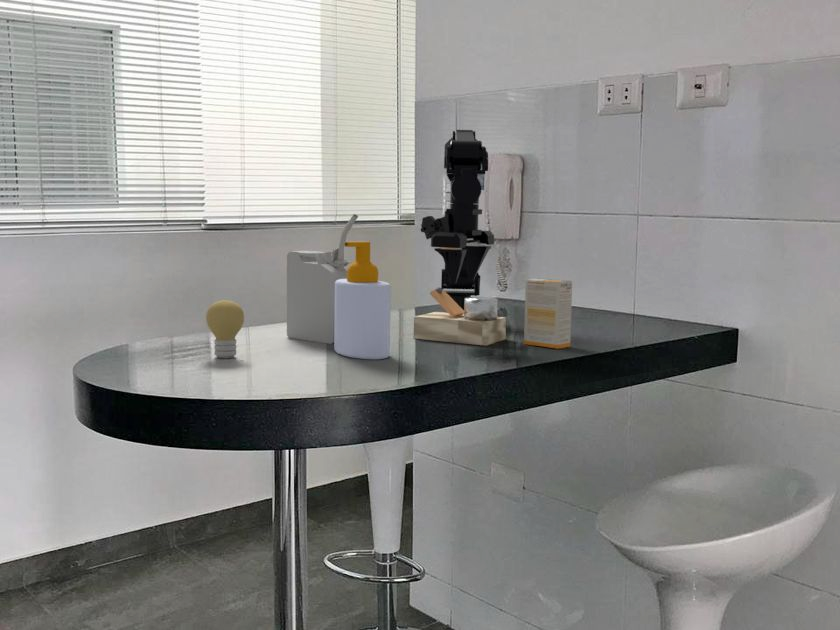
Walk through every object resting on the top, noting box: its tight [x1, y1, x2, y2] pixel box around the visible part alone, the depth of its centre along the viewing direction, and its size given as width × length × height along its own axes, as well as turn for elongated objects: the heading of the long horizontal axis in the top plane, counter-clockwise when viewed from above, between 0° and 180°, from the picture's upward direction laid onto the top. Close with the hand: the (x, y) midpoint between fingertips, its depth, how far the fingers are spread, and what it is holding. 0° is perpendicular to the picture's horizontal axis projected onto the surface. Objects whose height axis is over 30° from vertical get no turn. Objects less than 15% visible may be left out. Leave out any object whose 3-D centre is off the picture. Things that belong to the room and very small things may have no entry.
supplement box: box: [523, 277, 573, 350], centre depth 174 cm, size 8×5×13 cm, turn 47°
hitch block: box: [413, 311, 507, 346], centre depth 181 cm, size 10×16×4 cm, turn 63°
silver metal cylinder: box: [464, 296, 499, 321], centre depth 179 cm, size 7×7×8 cm
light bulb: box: [205, 299, 245, 359], centre depth 154 cm, size 6×6×10 cm
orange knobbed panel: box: [429, 286, 464, 317], centre depth 182 cm, size 7×5×2 cm
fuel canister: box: [286, 213, 359, 345], centre depth 175 cm, size 15×5×25 cm, turn 53°
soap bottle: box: [333, 241, 392, 361], centre depth 160 cm, size 13×8×20 cm, turn 37°
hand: (462, 281), depth 180 cm, fingers open, 9 cm apart
